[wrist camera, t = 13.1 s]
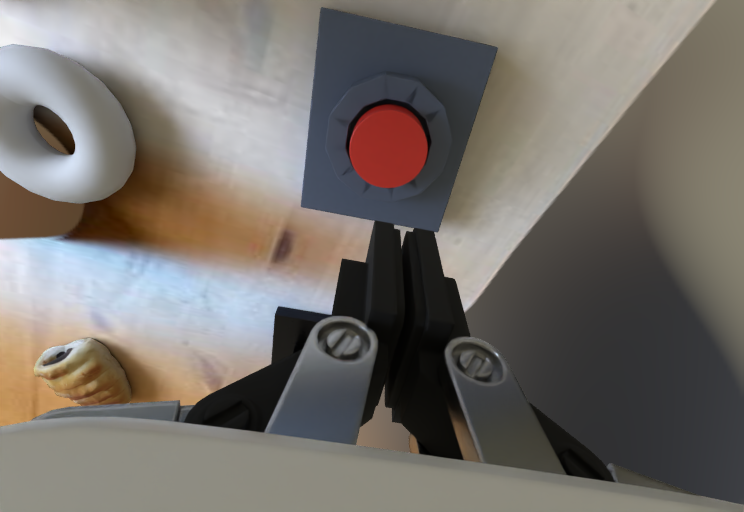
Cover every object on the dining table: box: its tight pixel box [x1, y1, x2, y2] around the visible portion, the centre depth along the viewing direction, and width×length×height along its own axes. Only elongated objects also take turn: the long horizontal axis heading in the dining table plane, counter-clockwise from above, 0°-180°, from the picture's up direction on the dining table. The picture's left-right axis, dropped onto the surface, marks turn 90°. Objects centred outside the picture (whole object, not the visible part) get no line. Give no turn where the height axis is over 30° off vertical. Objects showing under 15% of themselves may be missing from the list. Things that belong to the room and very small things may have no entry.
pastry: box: [34, 338, 131, 406], centre depth 38 cm, size 9×7×4 cm
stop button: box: [349, 104, 428, 188], centre depth 22 cm, size 4×4×2 cm
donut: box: [0, 44, 136, 203], centre depth 25 cm, size 10×4×10 cm
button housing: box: [301, 7, 498, 232], centre depth 24 cm, size 12×10×4 cm
